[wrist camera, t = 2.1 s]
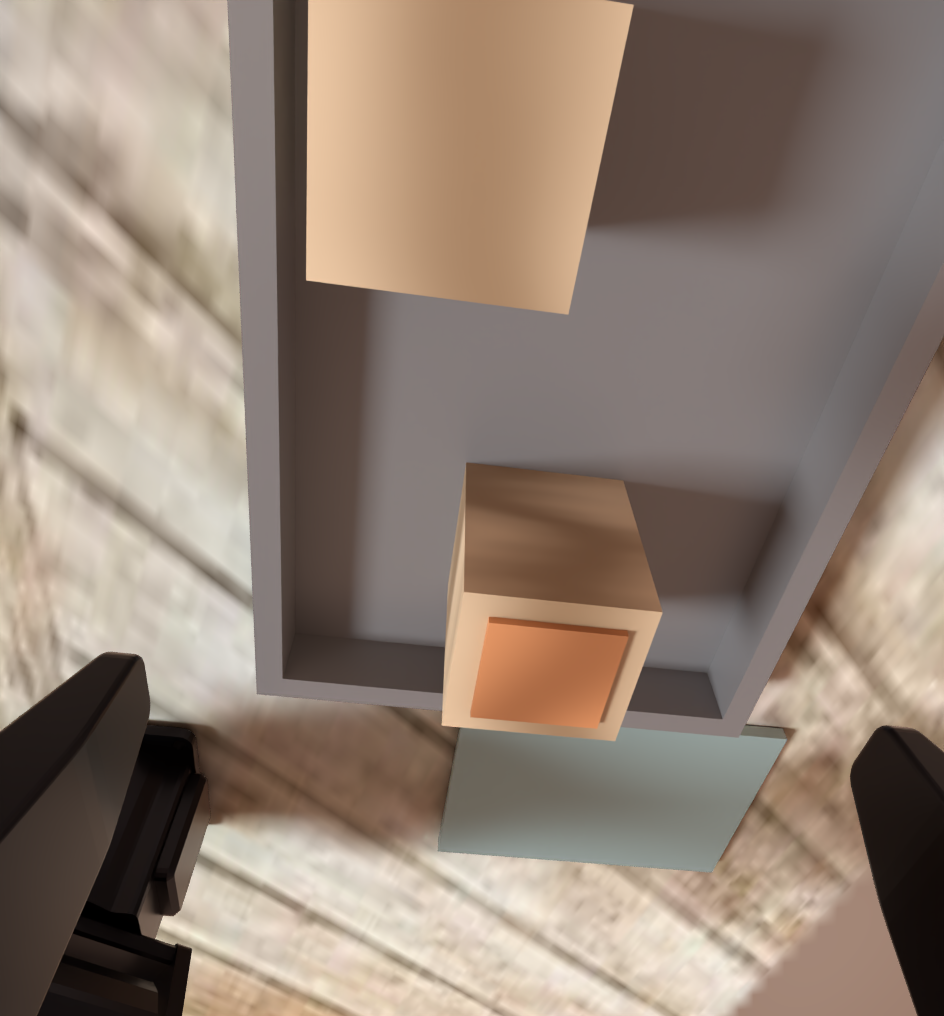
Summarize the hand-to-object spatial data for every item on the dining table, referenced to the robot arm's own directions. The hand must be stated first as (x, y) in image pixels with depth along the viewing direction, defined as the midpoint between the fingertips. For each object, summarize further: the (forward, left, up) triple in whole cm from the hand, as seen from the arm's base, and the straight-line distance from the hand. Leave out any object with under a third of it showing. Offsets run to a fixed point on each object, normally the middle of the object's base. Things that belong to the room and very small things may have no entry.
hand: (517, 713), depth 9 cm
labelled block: (+2, -6, -12) cm, 14 cm away
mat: (+7, -19, -12) cm, 23 cm away
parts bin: (+2, -1, -12) cm, 13 cm away
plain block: (-2, +5, -12) cm, 13 cm away
